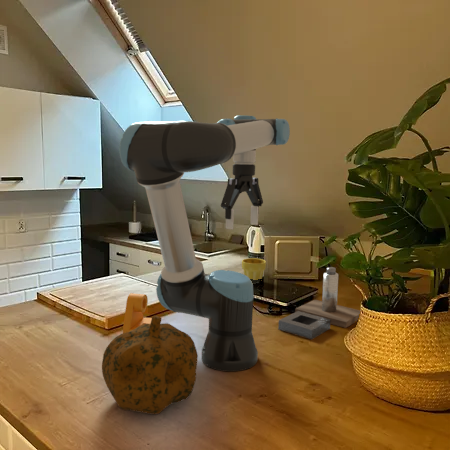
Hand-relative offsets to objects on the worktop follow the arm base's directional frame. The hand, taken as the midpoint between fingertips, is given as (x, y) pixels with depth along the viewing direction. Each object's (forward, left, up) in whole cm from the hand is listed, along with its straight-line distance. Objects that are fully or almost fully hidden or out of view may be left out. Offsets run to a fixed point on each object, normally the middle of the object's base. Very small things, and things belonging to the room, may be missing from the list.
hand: (242, 226), depth 153 cm
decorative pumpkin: (-58, -20, -31) cm, 69 cm away
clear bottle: (+20, -24, -29) cm, 42 cm away
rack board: (+20, -24, -31) cm, 44 cm away
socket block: (+3, -24, -31) cm, 39 cm away
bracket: (-34, +12, -31) cm, 48 cm away
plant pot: (+35, +20, -31) cm, 51 cm away
